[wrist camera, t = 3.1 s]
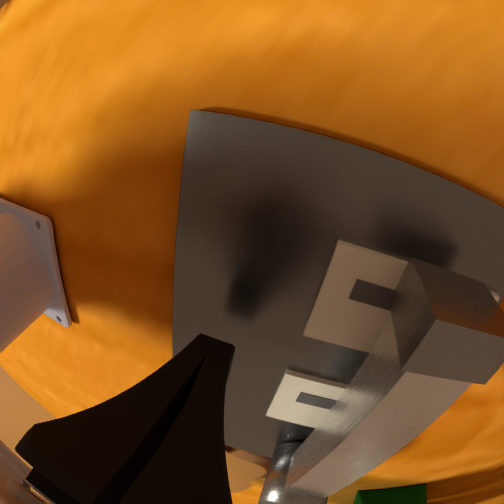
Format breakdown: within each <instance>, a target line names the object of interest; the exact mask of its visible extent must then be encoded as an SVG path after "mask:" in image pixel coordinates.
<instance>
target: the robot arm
mask: <svg viewBox="0 0 504 504" xmlns="http://www.w3.org/2000/svg"><path fill="white" fill-rule="evenodd" d="M43 313H44V314H46V315H47V316H49V317H50V318H52V319H54V320H55V321H57V322H58V323H60V324H61V325H63V326H65V327H67V328H69V327H70V326H71V325H72V321H71V317H70V313H69V310H68V306H67V302H66V298H65V293H64V289H63V284H62V280H61V275H60V270H59V265H58V259H57V253H56V247H55V241H54V234H53V226H52V222H51V220H50V219H49V218H48V217H47V216H45V215H42V214H39V213H37V212H34V211H32V210H29V209H27V208H24V207H22V206H19V205H17V204H14V203H12V202H9V201H7V200H4V199H2V198H0V353H1V352H2V351H3V350H4V349H5V348H6V347H7V346H8V345H9V344H10V343H11V342H12V341H13V340H14V339H16V338H17V337H18V336H19V335H20V334H21V333H22V332H23V331H24V330H25V329H26V328H27V327H28V326H30V325H31V324H32V323H33V322H34V321H35V320H36V319H37V318H38V317H40V316H41V315H42V314H43ZM234 353H235V346H234V345H233V344H230V343H227V342H224V341H221V340H218V339H216V338H213V337H210V336H207V335H204V334H202V333H201V334H198V335H197V336H196V337H195V338H194V339H193V340H192V341H191V342H190V343H189V344H188V345H187V346H186V347H185V348H184V349H183V350H181V351H180V352H179V353H178V354H177V355H176V356H174V357H173V358H172V359H171V360H169V361H168V362H167V363H166V364H164V365H163V366H162V367H161V368H159V369H158V370H157V371H155V372H154V373H152V374H151V375H149V376H148V377H146V378H145V379H143V380H142V381H141V382H139V383H137V384H136V385H134V386H133V387H131V388H129V389H128V390H126V391H124V392H122V393H120V394H119V395H117V396H115V397H113V398H111V399H109V400H107V401H105V402H103V403H100V404H98V405H96V406H94V407H91V408H89V409H86V410H83V411H80V412H78V413H75V414H72V415H69V416H66V417H63V418H59V419H55V420H51V421H46V422H42V423H38V424H35V425H33V427H32V428H30V429H29V430H28V431H27V432H26V434H25V435H24V436H23V438H22V439H21V440H20V441H19V443H18V444H17V445H16V447H15V450H16V452H17V453H18V454H19V455H20V456H21V457H23V459H24V460H26V461H27V462H28V463H29V464H30V465H31V466H32V467H33V469H31V468H30V467H28V466H27V465H26V464H25V463H24V462H23V461H22V460H21V459H20V458H18V457H17V456H16V455H15V454H14V453H13V452H12V451H11V450H10V449H9V448H8V447H7V446H6V445H5V444H4V443H3V442H2V441H1V440H0V504H51V503H52V504H233V503H232V498H231V493H230V487H229V481H228V473H227V466H226V455H225V441H224V404H225V392H226V383H227V380H228V377H229V374H230V369H231V365H232V361H233V357H234ZM30 486H31V487H32V488H33V489H34V490H35V491H37V492H38V493H39V494H40V495H42V496H43V497H44V498H45V499H47V500H48V501H49V502H50V503H49V502H48V501H46V500H45V499H43V498H42V497H40V496H38V495H37V494H36V493H34V492H33V491H31V490H30Z"/></svg>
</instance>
